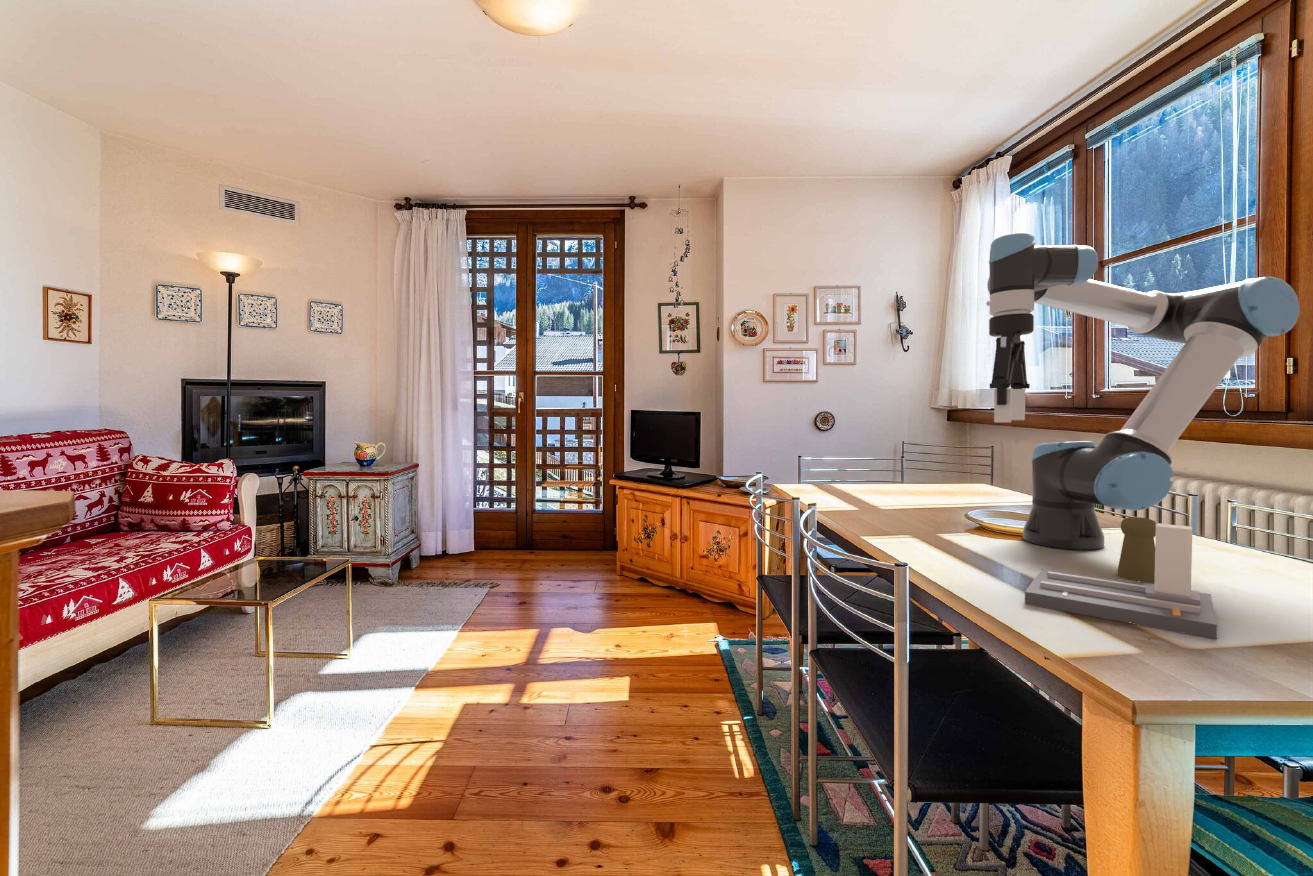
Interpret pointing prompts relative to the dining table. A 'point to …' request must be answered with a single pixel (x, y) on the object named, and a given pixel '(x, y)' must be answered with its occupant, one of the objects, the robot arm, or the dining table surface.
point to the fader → (1173, 566)
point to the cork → (1138, 550)
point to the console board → (1120, 603)
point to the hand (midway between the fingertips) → (1010, 421)
